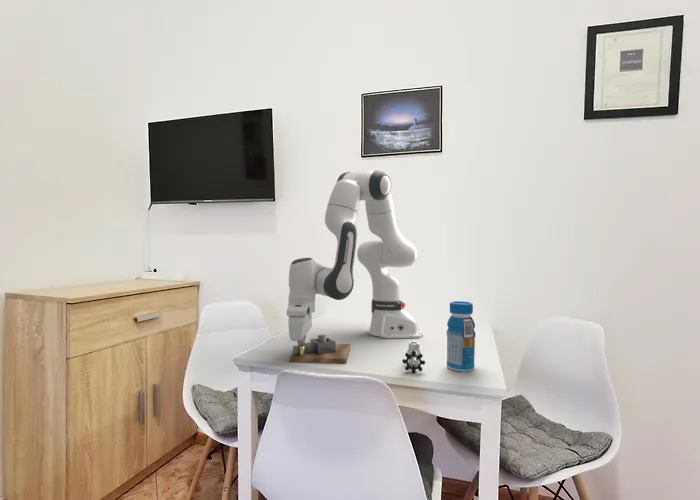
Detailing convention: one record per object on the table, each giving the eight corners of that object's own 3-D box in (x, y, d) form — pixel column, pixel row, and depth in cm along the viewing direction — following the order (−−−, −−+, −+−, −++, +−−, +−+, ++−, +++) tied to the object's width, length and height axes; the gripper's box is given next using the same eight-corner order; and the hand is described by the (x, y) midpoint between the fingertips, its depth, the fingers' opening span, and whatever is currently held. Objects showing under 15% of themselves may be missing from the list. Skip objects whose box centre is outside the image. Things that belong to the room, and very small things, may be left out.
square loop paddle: (327, 347, 136) (327, 337, 136) (335, 351, 131) (335, 341, 131) (290, 352, 130) (290, 341, 130) (297, 357, 124) (297, 346, 124)
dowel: (304, 359, 127) (304, 345, 127) (303, 361, 125) (303, 347, 125) (300, 359, 127) (300, 345, 127) (299, 360, 125) (299, 346, 125)
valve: (403, 360, 127) (402, 372, 115) (403, 340, 127) (402, 350, 115) (424, 362, 126) (425, 374, 114) (424, 341, 126) (425, 351, 114)
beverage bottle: (444, 370, 117) (445, 303, 117) (447, 362, 125) (448, 299, 125) (474, 374, 114) (475, 305, 114) (475, 365, 122) (476, 301, 122)
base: (350, 348, 141) (350, 330, 141) (346, 363, 123) (346, 342, 123) (301, 346, 142) (301, 329, 142) (289, 361, 124) (289, 341, 124)
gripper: (298, 301, 142) (298, 339, 142) (285, 311, 121) (284, 355, 121) (316, 302, 141) (315, 340, 141) (305, 311, 121) (305, 356, 121)
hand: (301, 347), depth 131 cm, fingers closed
